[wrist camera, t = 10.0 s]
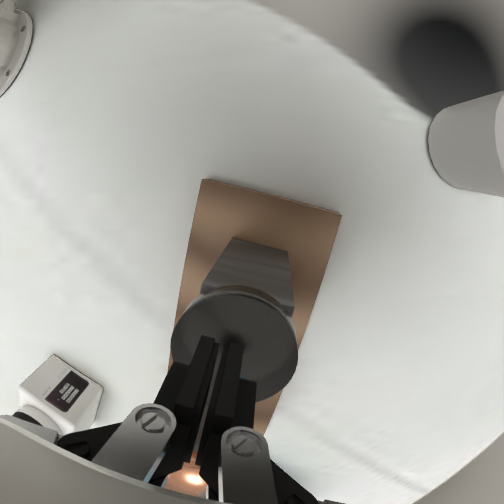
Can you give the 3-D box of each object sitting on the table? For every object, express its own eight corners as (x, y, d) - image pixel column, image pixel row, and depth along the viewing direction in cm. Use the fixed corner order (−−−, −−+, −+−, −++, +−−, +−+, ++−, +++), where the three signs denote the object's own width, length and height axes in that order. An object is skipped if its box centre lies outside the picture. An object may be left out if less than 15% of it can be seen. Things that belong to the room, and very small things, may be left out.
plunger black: (225, 228, 24) (180, 282, 13) (297, 247, 24) (315, 316, 12) (211, 295, 26) (164, 385, 14) (278, 312, 26) (277, 414, 14)
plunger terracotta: (198, 358, 27) (157, 457, 16) (258, 373, 27) (247, 480, 16) (189, 400, 29) (155, 495, 17) (244, 414, 29) (229, 514, 17)
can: (420, 182, 24) (508, 195, 12) (424, 98, 22) (507, 64, 10) (484, 194, 23) (574, 215, 12) (487, 118, 21) (575, 106, 10)
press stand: (206, 178, 25) (149, 186, 14) (338, 212, 25) (386, 247, 13) (166, 402, 31) (130, 483, 20) (263, 427, 31) (256, 516, 20)
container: (53, 352, 31) (-11, 413, 19) (104, 386, 32) (50, 461, 19) (48, 389, 33) (-3, 447, 21) (94, 420, 34) (51, 487, 21)
